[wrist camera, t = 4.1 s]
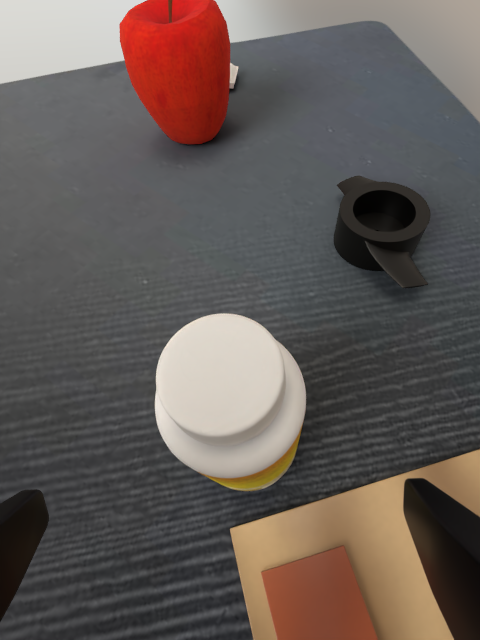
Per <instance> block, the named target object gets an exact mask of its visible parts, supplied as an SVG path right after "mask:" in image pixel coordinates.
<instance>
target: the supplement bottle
mask: <svg viewBox="0 0 480 640" xmlns="http://www.w3.org/2000/svg"><path fill="white" fill-rule="evenodd" d="M156 386H157V390H156V397H155V413H156V420H157V424H158V428H159V431H160V433H161V436H162V438H163V440H164V441H165V443H166V445H167V446H168V448H169V449H170V450H171V452H172V453H173V454H174V455H175V456H176V457H177V458H178V459H179V460H180V461H182V462H183V463H184V464H185V465H187V466H189V467H190V468H192V469H193V470H195V471H197V472H199V473H201V474H203V475H205V476H206V477H208V478H210V479H212V480H214V481H216V482H218V483H220V484H221V485H223V486H225V487H228V488H231V489H234V490H239V491H256V490H260V489H263V488H266V487H268V486H270V485H272V484H273V483H275V482H276V481H277V480H279V479H280V478H281V477H282V476H283V475H284V474H285V472H286V471H287V470H288V468H289V467H290V465H291V463H292V461H293V459H294V457H295V454H296V450H297V446H298V442H299V438H300V434H301V429H302V425H303V420H304V416H305V409H306V390H305V384H304V379H303V376H302V373H301V371H300V369H299V367H298V365H297V363H296V361H295V359H294V358H293V357H292V355H291V354H290V353H289V352H288V350H287V349H286V348H285V347H284V346H283V345H281V344H280V343H279V342H278V341H277V340H275V339H274V338H273V336H272V335H271V334H270V333H269V332H268V331H267V330H266V329H265V328H264V327H263V326H261V325H260V324H259V323H257V322H255V321H253V320H251V319H249V318H246V317H244V316H240V315H236V314H213V315H209V316H205V317H202V318H199V319H197V320H195V321H193V322H191V323H189V324H187V325H186V326H184V327H183V328H182V329H181V330H179V331H178V332H177V333H176V334H175V335H174V336H173V337H172V338H171V340H170V341H169V342H168V344H167V345H166V347H165V348H164V350H163V352H162V354H161V356H160V359H159V362H158V366H157V372H156Z"/></svg>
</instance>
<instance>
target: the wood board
mask: <svg viewBox="0 0 480 640" xmlns="http://www.w3.org/2000/svg"><path fill="white" fill-rule="evenodd" d="M408 478H424V479H426V480H428V481H429V482H430V483H432V484H433V485H435V486H436V487H438V488H439V489H441V490H442V491H443V492H445V493H446V494H448V495H449V496H451V497H452V498H453V499H455V500H456V501H458V502H459V503H461V504H462V505H464V506H465V507H466V508H468V509H469V510H471V511H472V512H474V513H475V514H476V515H478V516H479V517H480V449H479V450H476V451H472V452H469V453H466V454H463V455H460V456H457V457H454V458H450V459H447V460H444V461H441V462H438V463H435V464H431V465H428V466H425V467H422V468H419V469H416V470H413V471H409V472H406V473H403V474H400V475H397V476H394V477H391V478H387V479H384V480H381V481H378V482H375V483H372V484H368V485H365V486H362V487H359V488H356V489H353V490H350V491H346V492H343V493H340V494H337V495H334V496H331V497H328V498H324V499H321V500H318V501H315V502H312V503H309V504H305V505H302V506H299V507H296V508H293V509H290V510H287V511H283V512H280V513H277V514H274V515H271V516H268V517H265V518H261V519H258V520H255V521H252V522H249V523H246V524H242V525H239V526H236V527H233V528H230V532H231V537H232V542H233V546H234V551H235V556H236V560H237V565H238V570H239V574H240V579H241V584H242V588H243V593H244V598H245V602H246V607H247V612H248V616H249V621H250V626H251V630H252V635H253V640H454V639H453V636H452V634H451V632H450V630H449V628H448V626H447V624H446V621H445V619H444V617H443V615H442V613H441V611H440V609H439V607H438V604H437V602H436V600H435V598H434V595H433V593H432V590H431V588H430V585H429V583H428V580H427V577H426V575H425V572H424V569H423V566H422V564H421V561H420V558H419V555H418V553H417V550H416V547H415V544H414V542H413V539H412V536H411V533H410V530H409V528H408V525H407V522H406V519H405V516H404V511H403V498H404V483H405V480H406V479H408Z"/></svg>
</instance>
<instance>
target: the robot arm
mask: <svg viewBox="0 0 480 640" xmlns="http://www.w3.org/2000/svg"><path fill="white" fill-rule="evenodd" d="M403 511H404V516H405V519H406V522H407V525H408V528H409V530H410V533H411V536H412V539H413V542H414V544H415V547H416V550H417V553H418V555H419V558H420V561H421V564H422V566H423V569H424V572H425V575H426V577H427V580H428V583H429V585H430V588H431V590H432V593H433V595H434V598H435V600H436V602H437V604H438V607H439V609H440V611H441V613H442V615H443V617H444V619H445V621H446V624H447V626H448V628H449V630H450V632H451V634H452V636H453V639H454V640H480V517H479V516H478V515H476V514H475V513H474V512H472V511H471V510H469V509H468V508H466V507H465V506H464V505H462V504H461V503H459V502H458V501H456V500H455V499H453V498H452V497H451V496H449V495H448V494H446V493H445V492H443V491H442V490H441V489H439V488H438V487H436V486H435V485H433V484H432V483H430V482H429V481H428V480H426V479H424V478H408V479H406V480H405V483H404V498H403ZM48 521H49V514H48V511H47V507H46V504H45V500H44V497H43V494H42V492H41V491H40V490H23V491H21V492H19V493H18V494H16V495H14V496H13V497H11V498H9V499H8V500H6V501H4V502H3V503H1V504H0V621H1V620H2V618H3V616H4V614H5V612H6V611H7V609H8V607H9V605H10V603H11V601H12V600H13V598H14V596H15V594H16V592H17V590H18V588H19V586H20V584H21V582H22V579H23V577H24V575H25V573H26V571H27V569H28V567H29V564H30V562H31V560H32V558H33V556H34V554H35V551H36V549H37V547H38V545H39V543H40V541H41V538H42V536H43V534H44V532H45V530H46V528H47V525H48Z"/></svg>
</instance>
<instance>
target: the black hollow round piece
mask: <svg viewBox="0 0 480 640" xmlns="http://www.w3.org/2000/svg"><path fill="white" fill-rule="evenodd" d="M337 186H338V187H339V189H340V190H341V191H342V192H343V194H344V195H345V196H344V197H343V199H342V201H341V204H340V208H339V213H338V218H337V224H336V229H335V234H334V245H335V248H336V250H337V251H338V253H339V254H340V256H341V257H342V258H343V259H345V260H346V261H347V262H349V263H350V264H352V265H354V266H356V267H359V268H362V269H366V270H372V271H384V270H385V272H386V273H387V274H388V275H389V276H390V277H391V278H392V279H393V280H394V281H396V282H397V283H398V284H399V285H400V286H401V287H402V288H412V287H419V286H424V285H428V283H427V282H426V281H425V279H424V278H423V276H422V275H421V273H420V272H419V270H418V269H417V267H416V266H415V264H414V262H413V260H412V259H411V256H412V254H413V252H414V250H415V248H416V246H417V244H418V242H419V240H420V238H421V237H422V235H423V233H424V231H425V229H426V227H427V225H428V223H429V220H430V210H429V207H428V205H427V203H426V201H425V200H424V199H423V198H422V197H421V196H420V195H419V194H418V193H416V192H415V191H413V190H412V189H410V188H408V187H405V186H402V185H399V184H395V183H390V182H376V181H373V180H370V179H367V178H364V177H362V176H355V177H351V178H349V179H346V180H344V181H342V182H341V183H339V184H338V185H337Z"/></svg>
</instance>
